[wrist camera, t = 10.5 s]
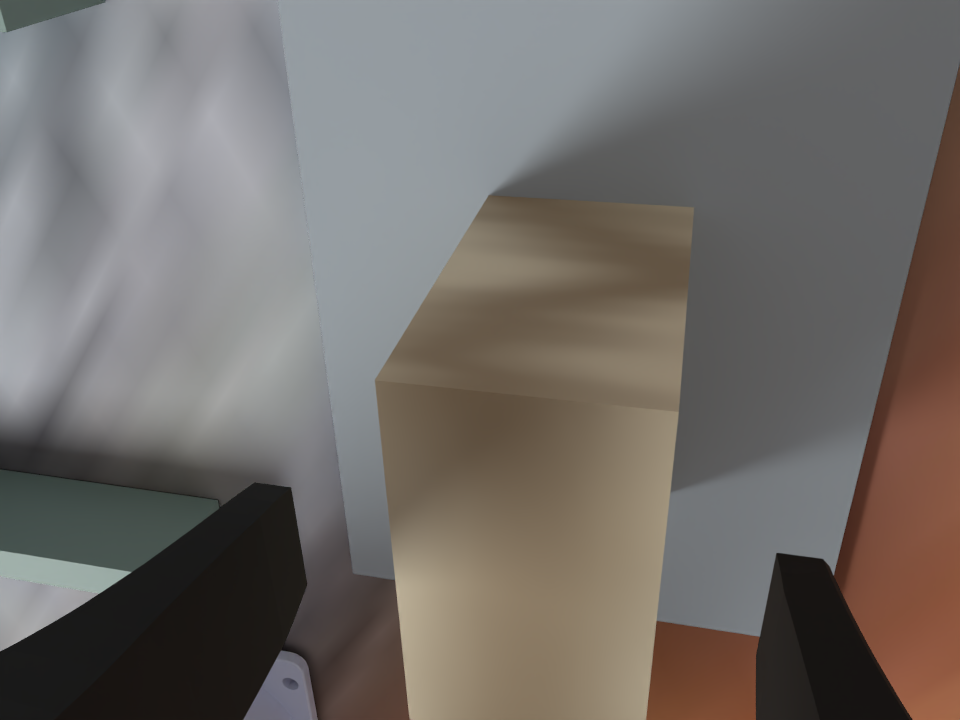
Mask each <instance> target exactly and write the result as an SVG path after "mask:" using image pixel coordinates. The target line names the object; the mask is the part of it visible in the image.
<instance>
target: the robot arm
mask: <svg viewBox="0 0 960 720" xmlns="http://www.w3.org/2000/svg"><path fill="white" fill-rule="evenodd" d="M306 586H307V580H306V574H305V568H304V562H303V556H302V550H301V544H300V538H299V532H298V526H297V520H296V514H295V508H294V502H293V496H292V490H291V487H284V486H276V485H269V484H261V483H254V484H252V485H251V486H249V487H248V488H246V489H245V490H244V491H242V492H241V493H239V494H238V495H237V496H235V497H234V498H233V499H231V500H230V501H229V502H227V503H226V504H225V505H223V506H222V507H221V508H219V509H218V510H217V511H215V512H214V513H213V514H211V515H210V516H209V517H207V518H206V519H205V520H203V521H202V522H201V523H199V524H198V525H197V526H195V527H194V528H193V529H191V530H190V531H189V532H187V533H186V534H184V535H183V536H182V537H180V538H179V539H178V540H176V541H175V542H173V543H172V544H171V545H169V546H168V547H167V548H165V549H164V550H162V551H161V552H160V553H158V554H157V555H156V556H154V557H153V558H151V559H150V560H149V561H147V562H146V563H144V564H143V565H142V566H140V567H139V568H137V569H136V570H134V571H133V572H131V573H130V574H128V575H127V576H125V577H124V578H122V579H121V580H119V581H118V582H116V583H115V584H113V585H112V586H110V587H109V588H107V589H106V590H104V591H103V592H101V593H100V594H98V595H97V596H95V597H94V598H92V599H91V600H89V601H88V602H86V603H85V604H83V605H81V606H80V607H78V608H76V609H75V610H73V611H72V612H70V613H68V614H67V615H65V616H63V617H62V618H60V619H58V620H57V621H55V622H53V623H51V624H50V625H48V626H46V627H44V628H43V629H41V630H39V631H37V632H35V633H34V634H32V635H30V636H28V637H27V638H25V639H23V640H21V641H19V642H18V643H16V644H14V645H12V646H10V647H8V648H6V649H4V650H2V651H0V720H318V718H317V713H316V707H315V702H314V696H313V691H312V685H311V680H310V674H309V669H308V665H307V663H306V661H305V660H304V659H303V658H302V657H301V656H299V655H298V654H295V653H292V652H287V651H281V649H282V647H283V645H284V643H285V641H286V638H287V636H288V634H289V631H290V629H291V626H292V624H293V621H294V619H295V616H296V613H297V611H298V608H299V605H300V603H301V600H302V597H303V595H304V592H305V589H306ZM756 720H912V718H911V717H910V715H909V713H908V712H907V710H906V709H905V707H904V706H903V704H902V702H901V701H900V699H899V697H898V696H897V694H896V692H895V691H894V689H893V687H892V686H891V684H890V682H889V681H888V679H887V677H886V675H885V674H884V672H883V670H882V669H881V667H880V665H879V664H878V662H877V660H876V658H875V657H874V655H873V653H872V651H871V649H870V648H869V646H868V644H867V642H866V640H865V638H864V637H863V635H862V633H861V631H860V629H859V627H858V625H857V623H856V621H855V619H854V617H853V615H852V613H851V611H850V609H849V607H848V605H847V603H846V601H845V599H844V597H843V595H842V593H841V591H840V589H839V586H838V584H837V582H836V580H835V578H834V575H833V573H832V571H831V568H830V566H829V565H828V564H827V563H826V562H825V561H824V559H821V558H813V557H806V556H798V555H791V554H783V553H776V557H775V562H774V568H773V573H772V578H771V583H770V588H769V593H768V598H767V603H766V608H765V613H764V618H763V623H762V628H761V634H760V639H759V644H758V649H757V654H756Z"/></svg>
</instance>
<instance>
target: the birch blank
mask: <svg viewBox="0 0 960 720" xmlns="http://www.w3.org/2000/svg"><path fill="white" fill-rule="evenodd" d="M693 216H694V207H681V206H664V205H647V204H630V203H613V202H595V201H578V200H561V199H544V198H527V197H510V196H493V195H488V197H487V199H486V200H485V202H484V204H483V205H482V207H481V208H480V210H479V212H478V213H477V215H476V217H475V218H474V220H473V221H472V223H471V225H470V226H469V228H468V230H467V231H466V233H465V234H464V236H463V238H462V239H461V241H460V243H459V244H458V246H457V247H456V249H455V251H454V252H453V254H452V256H451V257H450V259H449V260H448V262H447V264H446V265H445V267H444V269H443V270H442V272H441V273H440V275H439V277H438V278H437V280H436V282H435V283H434V285H433V286H432V288H431V290H430V291H429V293H428V295H427V296H426V298H425V299H424V301H423V303H422V304H421V306H420V308H419V309H418V311H417V312H416V314H415V316H414V317H413V319H412V320H411V322H410V324H409V325H408V327H407V329H406V330H405V332H404V333H403V335H402V337H401V338H400V340H399V342H398V343H397V345H396V346H395V348H394V350H393V351H392V353H391V355H390V356H389V358H388V359H387V361H386V363H385V364H384V366H383V368H382V369H381V371H380V372H379V374H378V376H377V377H376V379H375V387H376V397H377V407H378V417H379V426H380V436H381V446H382V456H383V465H384V475H385V485H386V495H387V504H388V514H389V524H390V534H391V543H392V553H393V563H394V573H395V583H396V592H397V602H398V612H399V622H400V631H401V641H402V651H403V661H404V670H405V680H406V690H407V700H408V709H409V719H411V720H646V714H647V705H648V696H649V686H650V677H651V667H652V658H653V649H654V639H655V630H656V621H657V611H658V602H659V593H660V583H661V574H662V565H663V555H664V546H665V537H666V527H667V518H668V509H669V499H670V490H671V481H672V471H673V462H674V453H675V443H676V434H677V425H678V415H679V404H680V390H681V377H682V363H683V350H684V336H685V323H686V310H687V296H688V283H689V269H690V256H691V243H692V229H693Z"/></svg>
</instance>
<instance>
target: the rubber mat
mask: <svg viewBox="0 0 960 720" xmlns="http://www.w3.org/2000/svg"><path fill="white" fill-rule="evenodd" d="M277 2H278V9H279V17H280V24H281V32H282V39H283V47H284V55H285V62H286V70H287V77H288V85H289V92H290V100H291V108H292V115H293V123H294V130H295V138H296V146H297V153H298V161H299V168H300V176H301V183H302V191H303V199H304V206H305V214H306V221H307V229H308V237H309V244H310V252H311V259H312V267H313V274H314V282H315V290H316V297H317V305H318V312H319V320H320V328H321V335H322V343H323V350H324V358H325V365H326V373H327V381H328V388H329V396H330V403H331V411H332V418H333V426H334V434H335V441H336V449H337V456H338V464H339V472H340V479H341V487H342V494H343V502H344V509H345V517H346V525H347V532H348V540H349V547H350V555H351V563H352V570H353V574H359V575H365V576H371V577H378V578H384V579H391V580H395V573H394V563H393V553H392V543H391V534H390V524H389V514H388V504H387V495H386V485H385V475H384V465H383V456H382V446H381V436H380V426H379V417H378V407H377V397H376V387H375V379H376V377H377V376H378V374H379V372H380V371H381V369H382V368H383V366H384V364H385V363H386V361H387V359H388V358H389V356H390V355H391V353H392V351H393V350H394V348H395V346H396V345H397V343H398V342H399V340H400V338H401V337H402V335H403V333H404V332H405V330H406V329H407V327H408V325H409V324H410V322H411V320H412V319H413V317H414V316H415V314H416V312H417V311H418V309H419V308H420V306H421V304H422V303H423V301H424V299H425V298H426V296H427V295H428V293H429V291H430V290H431V288H432V286H433V285H434V283H435V282H436V280H437V278H438V277H439V275H440V273H441V272H442V270H443V269H444V267H445V265H446V264H447V262H448V260H449V259H450V257H451V256H452V254H453V252H454V251H455V249H456V247H457V246H458V244H459V243H460V241H461V239H462V238H463V236H464V234H465V233H466V231H467V230H468V228H469V226H470V225H471V223H472V221H473V220H474V218H475V217H476V215H477V213H478V212H479V210H480V208H481V207H482V205H483V204H484V202H485V200H486V199H487V197H488V195H493V196H510V197H527V198H544V199H561V200H578V201H595V202H613V203H630V204H647V205H664V206H681V207H694V216H693V229H692V243H691V256H690V269H689V283H688V296H687V310H686V323H685V336H684V350H683V363H682V377H681V390H680V404H679V415H678V425H677V434H676V443H675V453H674V462H673V471H672V481H671V490H670V499H669V509H668V518H667V527H666V537H665V546H664V555H663V565H662V574H661V583H660V593H659V602H658V611H657V621H662V622H669V623H675V624H682V625H688V626H694V627H701V628H707V629H714V630H720V631H727V632H733V633H740V634H746V635H753V636H759V637H760V634H761V628H762V623H763V618H764V613H765V608H766V603H767V598H768V593H769V588H770V583H771V578H772V573H773V568H774V562H775V557H776V553H783V554H791V555H798V556H806V557H813V558H821V559H824V561H825V562H826V563H827V564H828V565H829V566H830V568H831V571H832V573H833V575H834V572H835V568H836V564H837V560H838V556H839V552H840V548H841V543H842V539H843V535H844V531H845V527H846V523H847V519H848V515H849V511H850V507H851V503H852V499H853V495H854V491H855V487H856V483H857V479H858V474H859V470H860V466H861V462H862V458H863V454H864V450H865V446H866V442H867V438H868V434H869V430H870V426H871V422H872V418H873V414H874V410H875V405H876V401H877V397H878V393H879V389H880V385H881V381H882V377H883V373H884V369H885V365H886V361H887V357H888V353H889V349H890V345H891V340H892V336H893V332H894V328H895V324H896V320H897V316H898V312H899V308H900V304H901V300H902V296H903V292H904V288H905V284H906V280H907V276H908V271H909V267H910V263H911V259H912V255H913V251H914V247H915V243H916V239H917V235H918V231H919V227H920V223H921V219H922V215H923V211H924V206H925V202H926V198H927V194H928V190H929V186H930V182H931V178H932V174H933V170H934V166H935V162H936V158H937V154H938V150H939V146H940V142H941V137H942V133H943V129H944V125H945V121H946V117H947V113H948V109H949V105H950V101H951V97H952V93H953V89H954V85H955V81H956V77H957V73H958V68H959V64H960V0H277Z"/></svg>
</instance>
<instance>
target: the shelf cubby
mask: <svg viewBox="0 0 960 720" xmlns="http://www.w3.org/2000/svg"><path fill="white" fill-rule="evenodd" d="M104 2H105V0H0V32H9V31H12V30H16V29H19V28H22V27H25V26H29V25H32V24H35V23H39V22H42V21H45V20H48V19H52V18H55V17H58V16H62V15H65V14H68V13H71V12H75V11H78V10H81V9H85V8H88V7H91V6H94V5H98V4H101V3H104ZM218 509H219V504H218V500H213V499H206V498H199V497H192V496H185V495H178V494H171V493H163V492H156V491H149V490H142V489H135V488H128V487H121V486H114V485H107V484H100V483H93V482H86V481H79V480H72V479H65V478H58V477H50V476H43V475H36V474H29V473H22V472H15V471H8V470H1V469H0V577H5V578H11V579H17V580H22V581H28V582H34V583H40V584H46V585H52V586H58V587H64V588H69V589H75V590H81V591H87V592H93V593H99V594H100V593H101V592H103V591H104V590H106V589H107V588H109V587H110V586H112V585H113V584H115V583H116V582H118V581H119V580H121V579H122V578H124V577H125V576H127V575H128V574H130V573H131V572H133V571H134V570H136V569H137V568H139V567H140V566H142V565H143V564H144V563H146V562H147V561H149V560H150V559H151V558H153V557H154V556H156V555H157V554H158V553H160V552H161V551H162V550H164V549H165V548H167V547H168V546H169V545H171V544H172V543H173V542H175V541H176V540H178V539H179V538H180V537H182V536H183V535H184V534H186V533H187V532H189V531H190V530H191V529H193V528H194V527H195V526H197V525H198V524H199V523H201V522H202V521H203V520H205V519H206V518H207V517H209V516H210V515H211V514H213V513H214V512H215V511H217V510H218Z"/></svg>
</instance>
